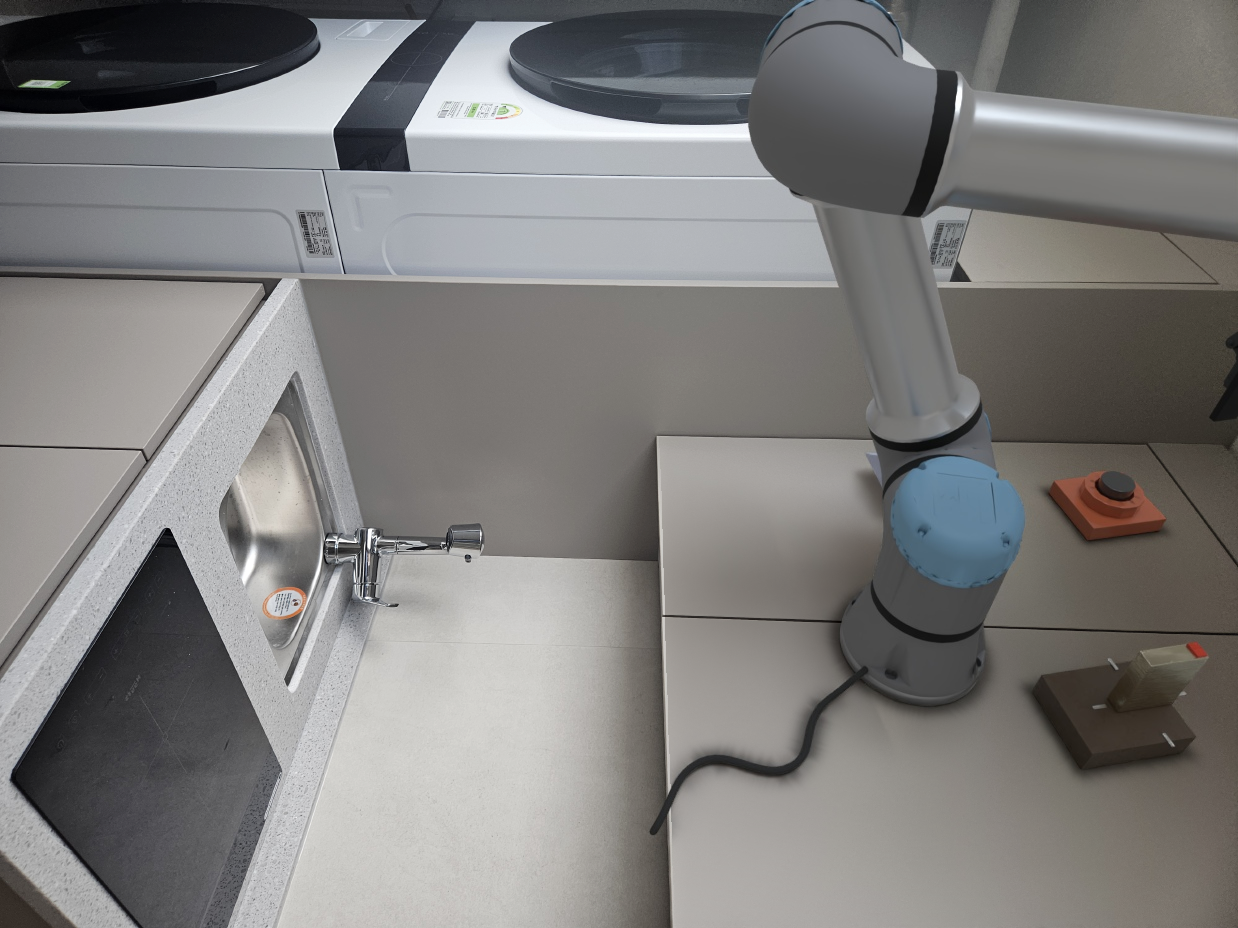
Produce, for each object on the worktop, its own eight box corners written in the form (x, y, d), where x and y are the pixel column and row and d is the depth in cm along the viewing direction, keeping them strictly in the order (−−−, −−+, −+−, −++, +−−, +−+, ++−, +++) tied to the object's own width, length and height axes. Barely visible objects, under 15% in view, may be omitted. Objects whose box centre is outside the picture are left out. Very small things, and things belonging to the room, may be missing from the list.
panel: (1084, 775, 79) (1096, 758, 77) (1028, 685, 86) (1038, 668, 84) (1206, 754, 80) (1221, 738, 78) (1141, 668, 88) (1153, 651, 86)
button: (1108, 503, 102) (1113, 493, 100) (1089, 482, 105) (1094, 472, 103) (1137, 500, 102) (1143, 489, 101) (1117, 479, 105) (1123, 469, 104)
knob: (1117, 712, 80) (1152, 664, 75) (1106, 697, 82) (1140, 648, 76) (1172, 704, 81) (1211, 655, 75) (1160, 688, 82) (1197, 640, 77)
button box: (1087, 540, 102) (1099, 518, 99) (1048, 492, 109) (1058, 470, 106) (1159, 530, 103) (1173, 508, 100) (1116, 483, 110) (1128, 461, 107)
